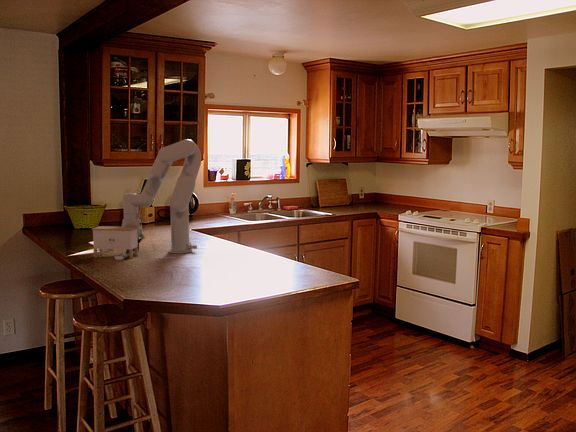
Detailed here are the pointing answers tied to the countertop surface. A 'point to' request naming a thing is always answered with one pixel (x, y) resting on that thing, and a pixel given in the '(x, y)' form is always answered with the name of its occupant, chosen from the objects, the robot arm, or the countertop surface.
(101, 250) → the cabinet
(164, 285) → the countertop surface
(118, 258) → the round metal knob
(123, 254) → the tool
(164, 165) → the robot arm
